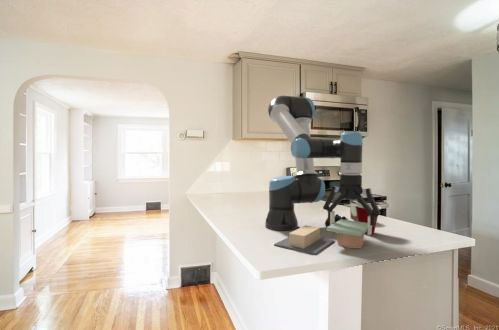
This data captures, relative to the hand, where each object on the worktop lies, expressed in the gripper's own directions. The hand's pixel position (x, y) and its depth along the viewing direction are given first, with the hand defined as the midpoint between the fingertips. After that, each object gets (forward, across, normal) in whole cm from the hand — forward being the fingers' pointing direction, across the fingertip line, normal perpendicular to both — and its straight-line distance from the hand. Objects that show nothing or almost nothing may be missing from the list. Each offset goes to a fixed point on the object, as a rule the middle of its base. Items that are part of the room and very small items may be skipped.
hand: (350, 231), depth 103 cm
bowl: (+5, 0, 0) cm, 5 cm away
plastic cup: (+5, +1, +21) cm, 22 cm away
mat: (+5, -14, -9) cm, 17 cm away
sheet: (-1, 0, 0) cm, 1 cm away
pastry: (+6, -13, +23) cm, 27 cm away
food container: (+5, -8, +43) cm, 44 cm away
